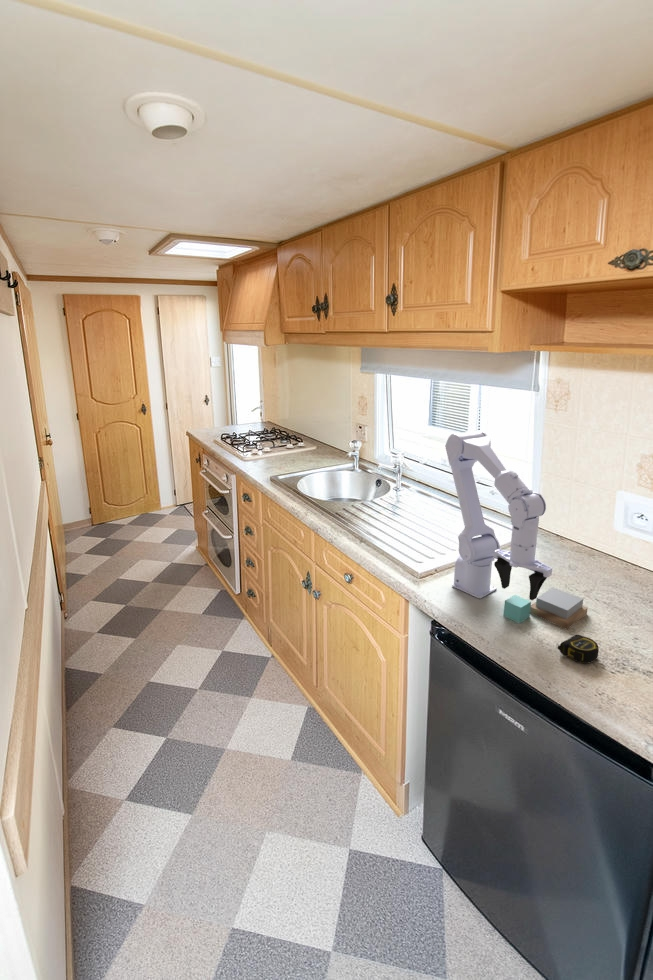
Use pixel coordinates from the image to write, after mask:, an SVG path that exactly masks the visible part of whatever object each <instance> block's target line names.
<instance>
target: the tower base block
mask: <svg viewBox="0 0 653 980" xmlns="http://www.w3.org/2000/svg"><path fill="white" fill-rule="evenodd" d="M587 614H588V607H586V606H583V605H582V608H581V609H579V610H578V611H577V612H576V613H574V614H573V615H572V616H570V617H569V618H568V619H565V618H562V617H560V616H557V615H555V614H553V613H550V612H548V611H545V610H543V609H541V608H538V607H536V602H534V603H531V607H530V615H534V616H536V617H538V618H540V619H542V620H544V621H547V622H549V623H551V624H554V625H557V626H558V627H561V628H563V629H565V630H568V629H569V628H571V627H572V626H573V625H575V624H576V623H577V622H579V621H580V620H581V619H583V618H584V617H586V616H587Z"/></svg>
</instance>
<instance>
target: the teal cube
mask: <svg viewBox="0 0 653 980" xmlns="http://www.w3.org/2000/svg"><path fill="white" fill-rule="evenodd" d="M503 604H504V606H503V617H505V618H507V619H508V620H511V621H513V622H516V623H518V624H521V623H523V622H524V621H526V620H527V619H528V618H530V615H531V613H530V607H531V605H532V600H530V599H526V598H523V597H521V596H518V595H517V594H514V595H512V596H510V597H509V598H507V599H506V600H504V603H503Z"/></svg>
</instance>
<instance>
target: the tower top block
mask: <svg viewBox="0 0 653 980" xmlns="http://www.w3.org/2000/svg"><path fill="white" fill-rule="evenodd" d="M535 600H536V607H538V608H541V609H543V610H545V611H548V612H550V613H553V614H555V615H557V616H560V617H562V618H565V619H568V618H569V617H570V616H572V615H573V614H574V613H576V612H577V611H578V610H579V609H581V608H582V606H583V604H584V597H583V598H582V597H580V596H578V595H574V594H572V593H570V592H567V591H565V590H561V589H558V588H557V587H553V586H552V587H551V588H549V589H548V590H547V591H545V592H543V593H542V594H541V595H539V596H537V598H536V599H535Z"/></svg>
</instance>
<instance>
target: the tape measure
mask: <svg viewBox="0 0 653 980" xmlns="http://www.w3.org/2000/svg"><path fill="white" fill-rule="evenodd" d="M557 650H559V652H560V654H562V655H564V656H567V657H569V658H570V659H571V660H573V661H575V662H578V663H583V664H584V663H585V664H587V663H593V662H595V661H596V660H597V659H598V657H599V650H600V649H599V645H598V643H597V642H596V641H595V640H593V639H592V638H589V637H587V636H583V635H581V634H574V635H573V636H571V637H570V638H568V639H566V640H564V641H562V642H561V643H560V644H558V645H557Z"/></svg>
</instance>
